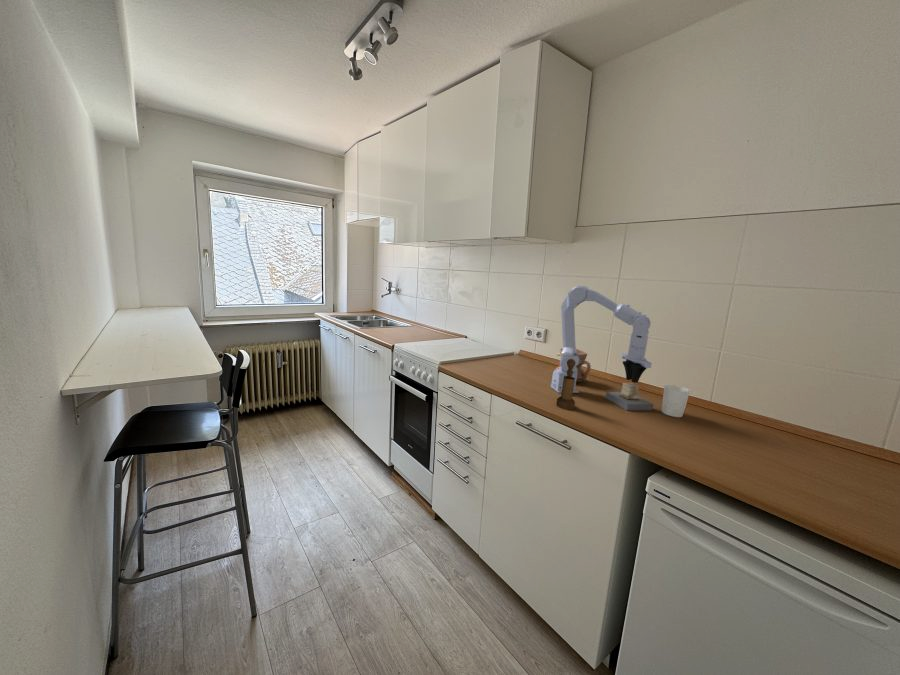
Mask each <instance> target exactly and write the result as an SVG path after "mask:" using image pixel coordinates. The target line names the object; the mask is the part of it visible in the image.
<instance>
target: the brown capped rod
mask: <svg viewBox="0 0 900 675" xmlns="http://www.w3.org/2000/svg"><path fill="white" fill-rule="evenodd" d="M567 366H568V370H567V376H564V379H563V386H562V393H560V395H561V396H559V397H557V398H556V404H555V405H556V406H557V407H559V408H560V409H563V410H574V409H575V406H576V401H575V399H573V394H574V393H573V388H574V382H575V378H574V377H572V375H573V371H572V369H573V367H574V366H575V360H573V359H569V360H568V361H567Z"/></svg>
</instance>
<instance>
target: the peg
mask: <svg viewBox="0 0 900 675" xmlns="http://www.w3.org/2000/svg"><path fill="white" fill-rule="evenodd" d="M639 388H640V386H639V385H638V384H635V383H633V382H622V387H621V391H620V392H621V397H622V398H624V399H626V400H637V396H638V393H639Z"/></svg>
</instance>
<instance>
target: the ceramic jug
mask: <svg viewBox="0 0 900 675" xmlns="http://www.w3.org/2000/svg"><path fill="white" fill-rule="evenodd" d="M576 349H577V348H576ZM562 350H563V347H562V348H560V349H559V352H557V354H556V356H558V357H560V358H561V357H562ZM577 355H578V356H579V359H580V362H579V364H578V365H577V366H576V367H577V370H578V372H577V379H576V383H582V382H584V381H585V380H586V379H587V377H588V374H589V373H590V371H591V369H592V368H591V367H592V366H591V363H590V362H589V361H587V360H586V358H587V357H588V352H587V351H586V350H582V349H577ZM583 365H586V371H585V370H584V369H583V368H582V366H583ZM558 369H560V365H559V366H557V367H555V368H554V370H558Z"/></svg>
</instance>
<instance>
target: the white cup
mask: <svg viewBox="0 0 900 675" xmlns="http://www.w3.org/2000/svg"><path fill="white" fill-rule="evenodd" d="M690 391H691V390H690V389H689V388H687V387H683V386H680V385H674V384H666V385H664V388H663V395H662V396H663V397H662V403H661V404H662V406H661V413H662V414H664V415H667V416H670V417H674V418H682V417H683V415H684V412H685V409H686V405H687V402H688V399H689V396H690Z"/></svg>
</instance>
